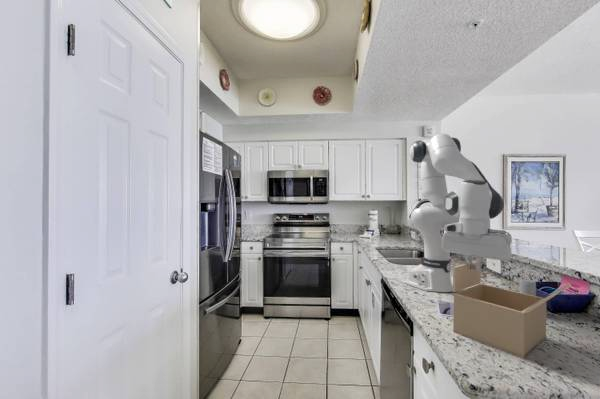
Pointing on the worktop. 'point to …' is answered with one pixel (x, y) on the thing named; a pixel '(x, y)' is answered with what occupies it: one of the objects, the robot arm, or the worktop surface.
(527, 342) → the carton
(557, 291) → the flap
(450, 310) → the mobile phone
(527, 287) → the beverage can
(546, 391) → the worktop surface
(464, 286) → the flap
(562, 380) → the worktop surface
